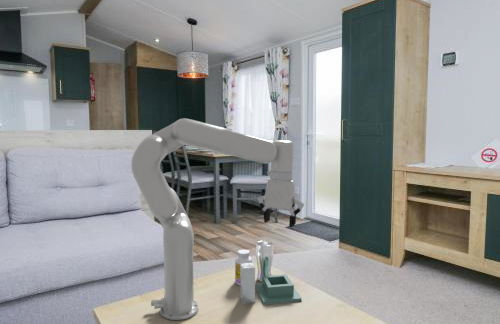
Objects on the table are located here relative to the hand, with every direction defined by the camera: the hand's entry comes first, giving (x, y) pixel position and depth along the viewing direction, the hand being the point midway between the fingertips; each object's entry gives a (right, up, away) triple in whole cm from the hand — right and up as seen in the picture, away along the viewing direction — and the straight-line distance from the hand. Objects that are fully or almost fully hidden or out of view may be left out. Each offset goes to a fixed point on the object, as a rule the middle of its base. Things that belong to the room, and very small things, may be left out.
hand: (279, 224), depth 126 cm
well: (0, -27, +8) cm, 28 cm away
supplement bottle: (-13, -26, +17) cm, 34 cm away
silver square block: (-11, -28, +3) cm, 30 cm away
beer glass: (-4, -26, +20) cm, 33 cm away
